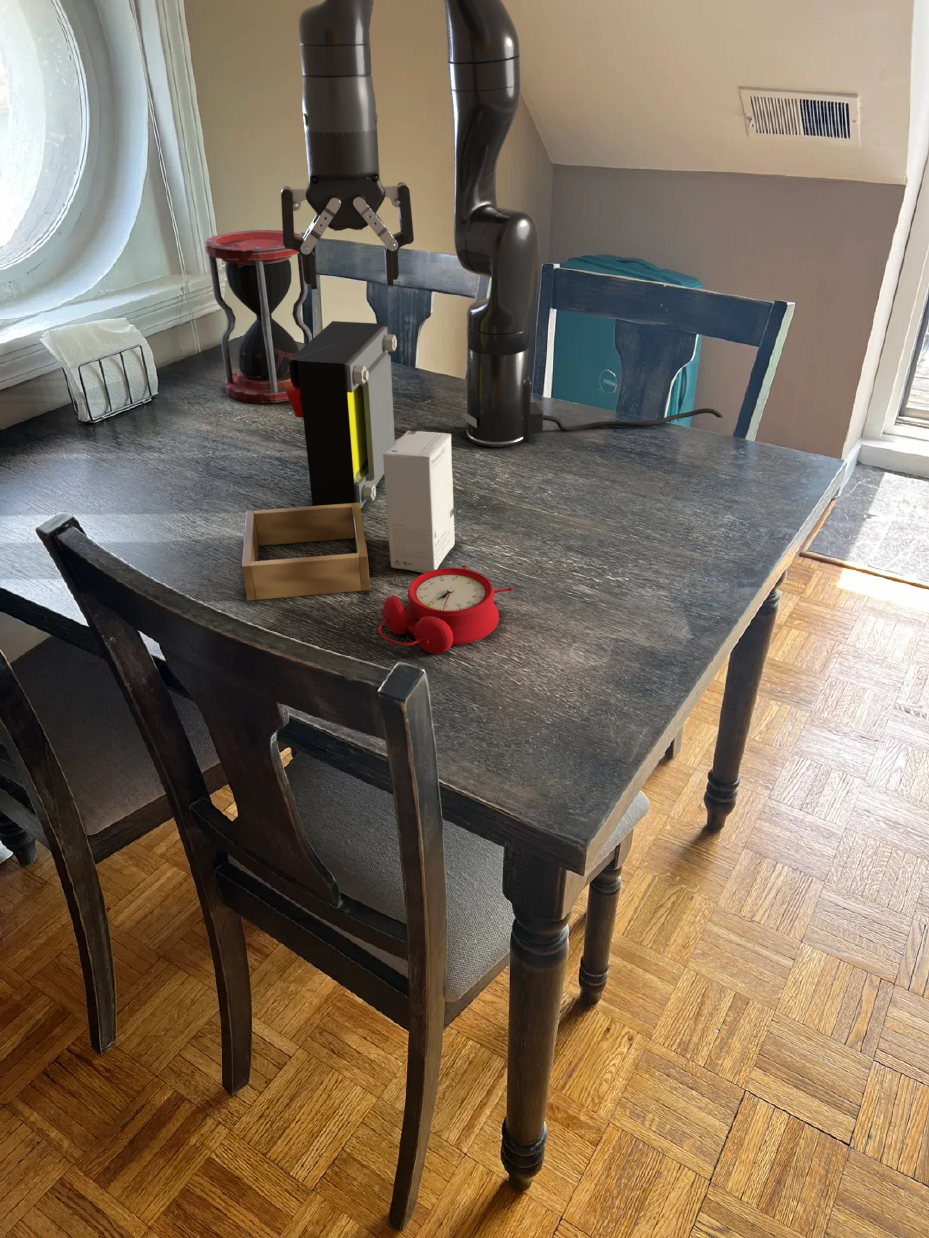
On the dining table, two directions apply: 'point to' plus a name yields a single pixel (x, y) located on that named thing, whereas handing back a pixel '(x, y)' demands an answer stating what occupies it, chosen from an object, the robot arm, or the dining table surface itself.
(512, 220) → the robot arm
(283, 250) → the hourglass
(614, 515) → the dining table surface
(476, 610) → the alarm clock
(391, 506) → the cosmetic box
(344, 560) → the wooden frame
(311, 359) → the electrical component
